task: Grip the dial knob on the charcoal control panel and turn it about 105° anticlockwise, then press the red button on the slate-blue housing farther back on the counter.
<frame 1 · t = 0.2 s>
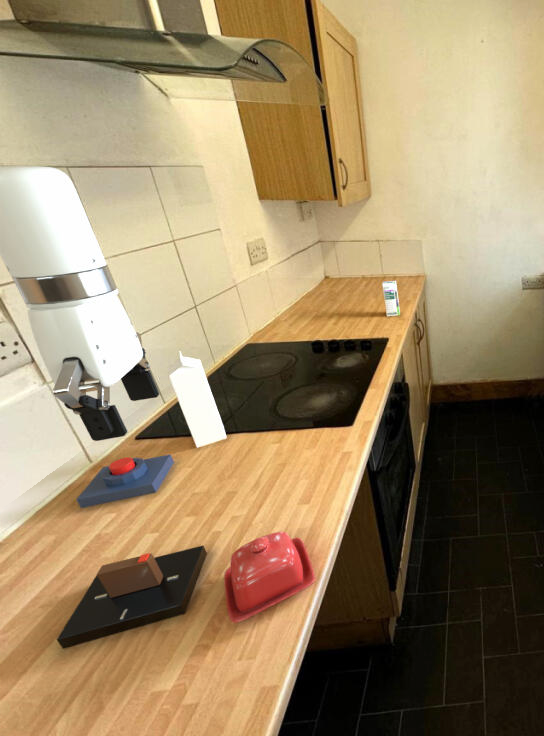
hand: (129, 416, 53), 30 cm above the table, tool pointing down, fingers open, 9 cm apart
button: (122, 466, 84), point 4 cm above the table, slide at 0.1 cm
milk: (211, 438, 100), on the table
butter dish: (271, 582, 65), on the table
syrup box: (393, 314, 183), on the table
button box: (130, 483, 86), on the table
panel: (143, 596, 63), on the table
dial knob: (131, 574, 61), point 5 cm above the table, hinge at 0.0°
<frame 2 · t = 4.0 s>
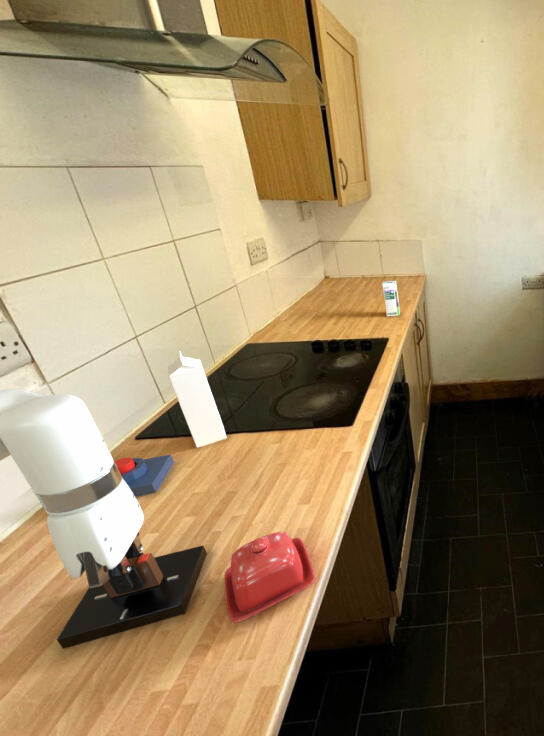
hand: (135, 582, 62), 3 cm above the table, tool pointing down, fingers closed on dial knob
dial knob: (131, 574, 61), point 5 cm above the table, hinge at 0.0°, touching gripper
everything else where it was.
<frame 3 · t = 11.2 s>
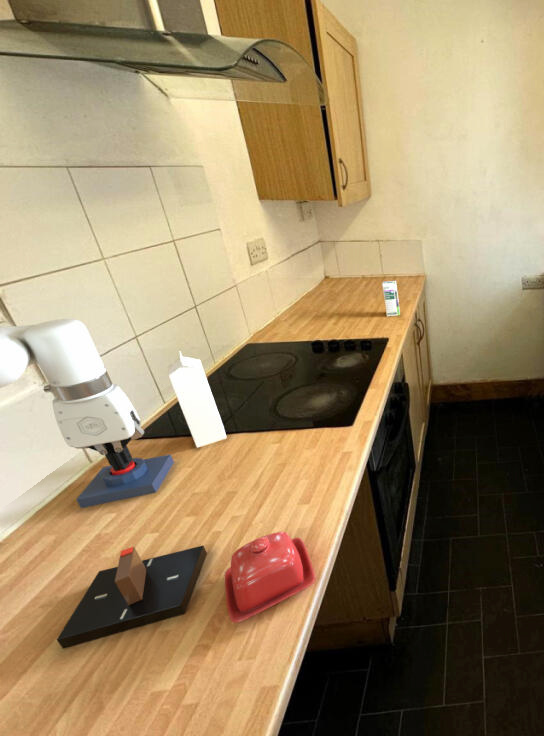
hand: (123, 465, 84), 5 cm above the table, tool pointing down, fingers closed
button: (124, 469, 84), point 4 cm above the table, slide at -0.7 cm, touching gripper
dial knob: (131, 574, 61), point 5 cm above the table, hinge at 104.7°
everything else where it was.
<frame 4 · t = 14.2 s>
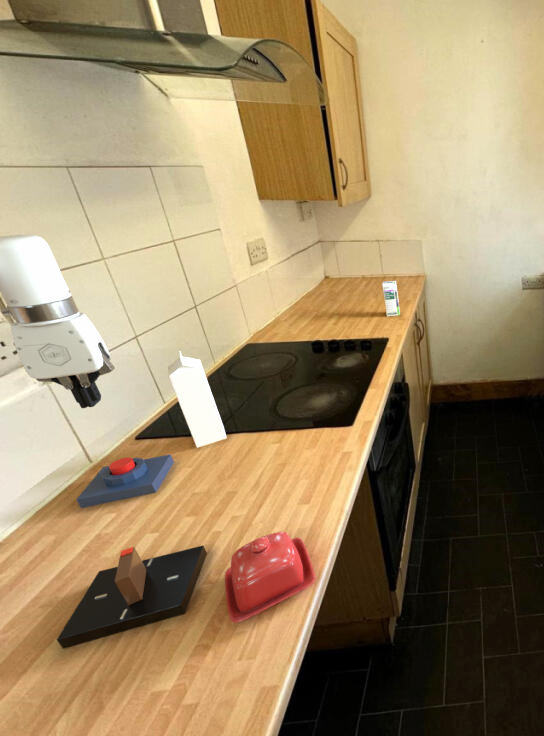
hand: (91, 403, 78), 19 cm above the table, tool pointing down, fingers closed
button: (122, 466, 84), point 4 cm above the table, slide at 0.1 cm
everything else where it was.
at the end: dial knob at +105° (first picture: +0°); button pushed in 1.1 cm at the most during the clip, back to where it started at the end; button slide at 0.1 cm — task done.
